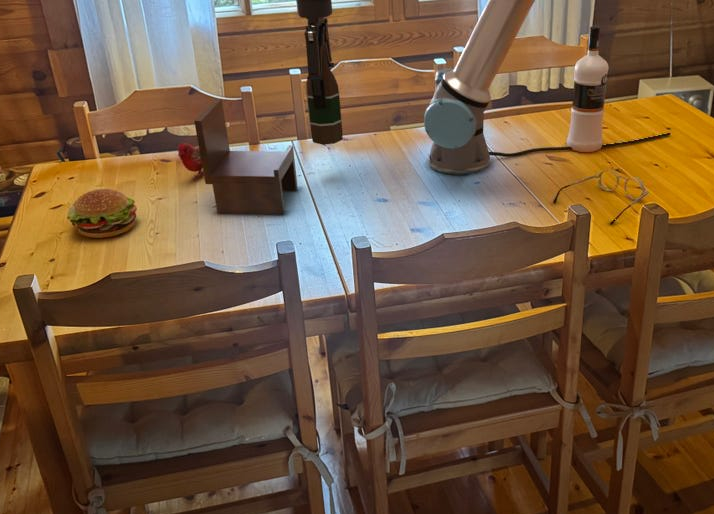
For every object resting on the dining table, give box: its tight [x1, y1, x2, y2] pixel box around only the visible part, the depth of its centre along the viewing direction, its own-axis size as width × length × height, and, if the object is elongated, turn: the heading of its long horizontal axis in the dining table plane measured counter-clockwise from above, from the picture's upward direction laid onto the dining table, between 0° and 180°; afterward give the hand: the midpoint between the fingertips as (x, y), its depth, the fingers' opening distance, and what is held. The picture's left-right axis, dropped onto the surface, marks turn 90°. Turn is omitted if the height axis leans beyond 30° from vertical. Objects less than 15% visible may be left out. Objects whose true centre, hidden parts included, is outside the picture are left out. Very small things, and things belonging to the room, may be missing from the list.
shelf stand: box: [193, 98, 299, 216], centre depth 182 cm, size 16×15×21 cm
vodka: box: [566, 25, 610, 153], centre depth 205 cm, size 9×9×30 cm
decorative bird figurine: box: [177, 142, 203, 180], centre depth 199 cm, size 3×18×10 cm, turn 165°
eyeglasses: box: [552, 168, 650, 225], centre depth 182 cm, size 17×15×5 cm
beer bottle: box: [305, 35, 344, 146], centre depth 185 cm, size 8×8×24 cm
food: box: [66, 188, 138, 239], centre depth 174 cm, size 14×14×8 cm
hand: (323, 102), depth 187 cm, fingers closed on beer bottle, 8 cm apart
